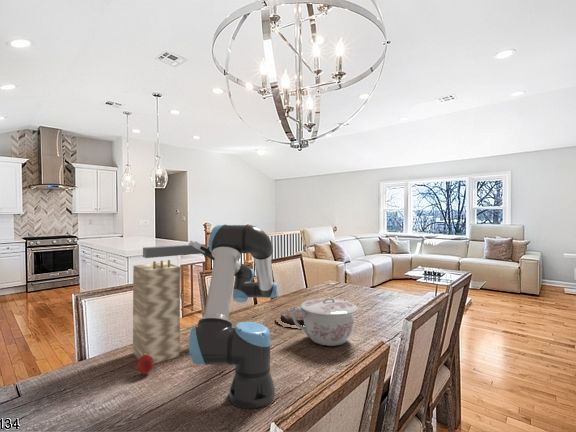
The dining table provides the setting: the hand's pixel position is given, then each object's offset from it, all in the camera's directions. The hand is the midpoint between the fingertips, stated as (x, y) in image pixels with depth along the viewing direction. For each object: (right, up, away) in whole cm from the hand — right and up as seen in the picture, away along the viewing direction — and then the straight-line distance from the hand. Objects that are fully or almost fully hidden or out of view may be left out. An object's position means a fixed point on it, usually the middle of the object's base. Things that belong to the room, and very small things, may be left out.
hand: (191, 243), depth 147 cm
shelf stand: (-12, -47, -10) cm, 50 cm away
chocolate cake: (+51, -48, +35) cm, 78 cm away
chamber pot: (+64, -48, +7) cm, 80 cm away
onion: (-9, -47, -27) cm, 55 cm away
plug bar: (-6, -5, -5) cm, 9 cm away
